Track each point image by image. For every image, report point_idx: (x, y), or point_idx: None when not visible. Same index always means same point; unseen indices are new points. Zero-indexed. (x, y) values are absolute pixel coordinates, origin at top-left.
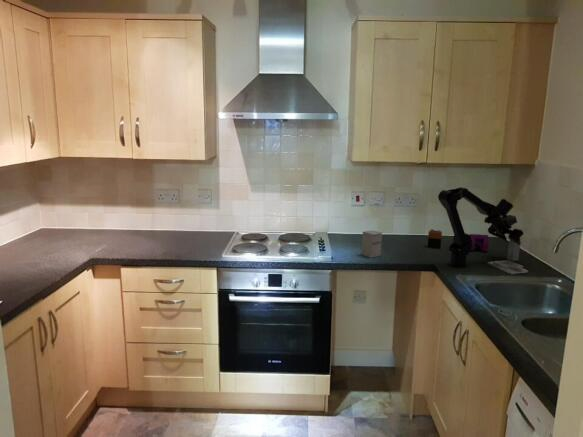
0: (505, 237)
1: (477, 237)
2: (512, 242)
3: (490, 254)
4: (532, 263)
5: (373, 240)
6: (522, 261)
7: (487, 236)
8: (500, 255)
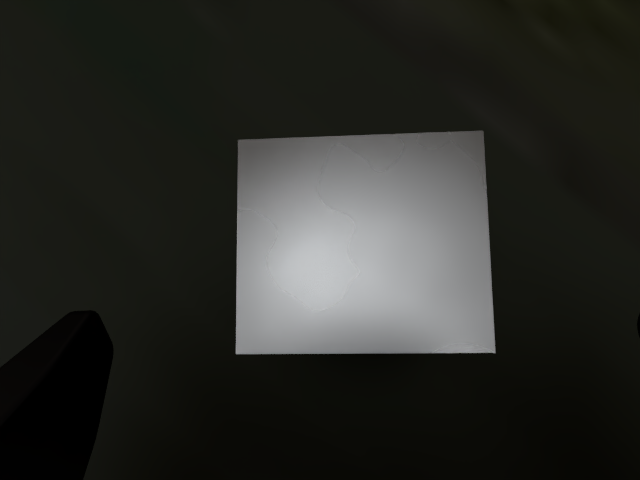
0: (60, 388)
1: None
2: (387, 351)
3: None
4: (585, 123)
5: None
6: None
7: None
8: (129, 299)
